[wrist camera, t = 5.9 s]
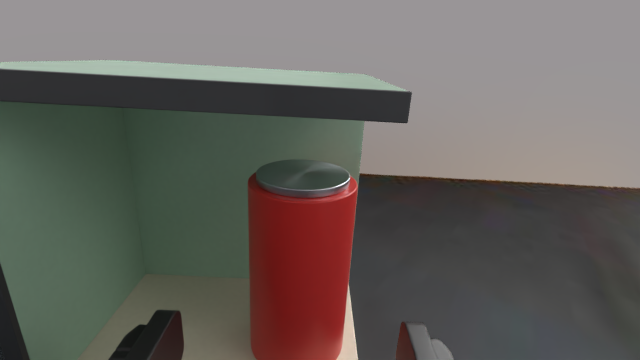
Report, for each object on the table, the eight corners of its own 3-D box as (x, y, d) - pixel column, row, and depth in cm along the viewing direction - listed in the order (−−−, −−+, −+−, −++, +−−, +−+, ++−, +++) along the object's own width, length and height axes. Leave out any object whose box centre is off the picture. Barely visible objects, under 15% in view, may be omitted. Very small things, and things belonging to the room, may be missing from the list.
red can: (231, 353, 19) (223, 177, 16) (281, 297, 24) (284, 151, 20) (318, 395, 17) (332, 203, 14) (355, 324, 22) (372, 168, 18)
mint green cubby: (364, 430, 16) (412, 92, 11) (23, 417, 16) (-96, 63, 11) (347, 283, 27) (367, 74, 21) (141, 274, 26) (110, 60, 21)
